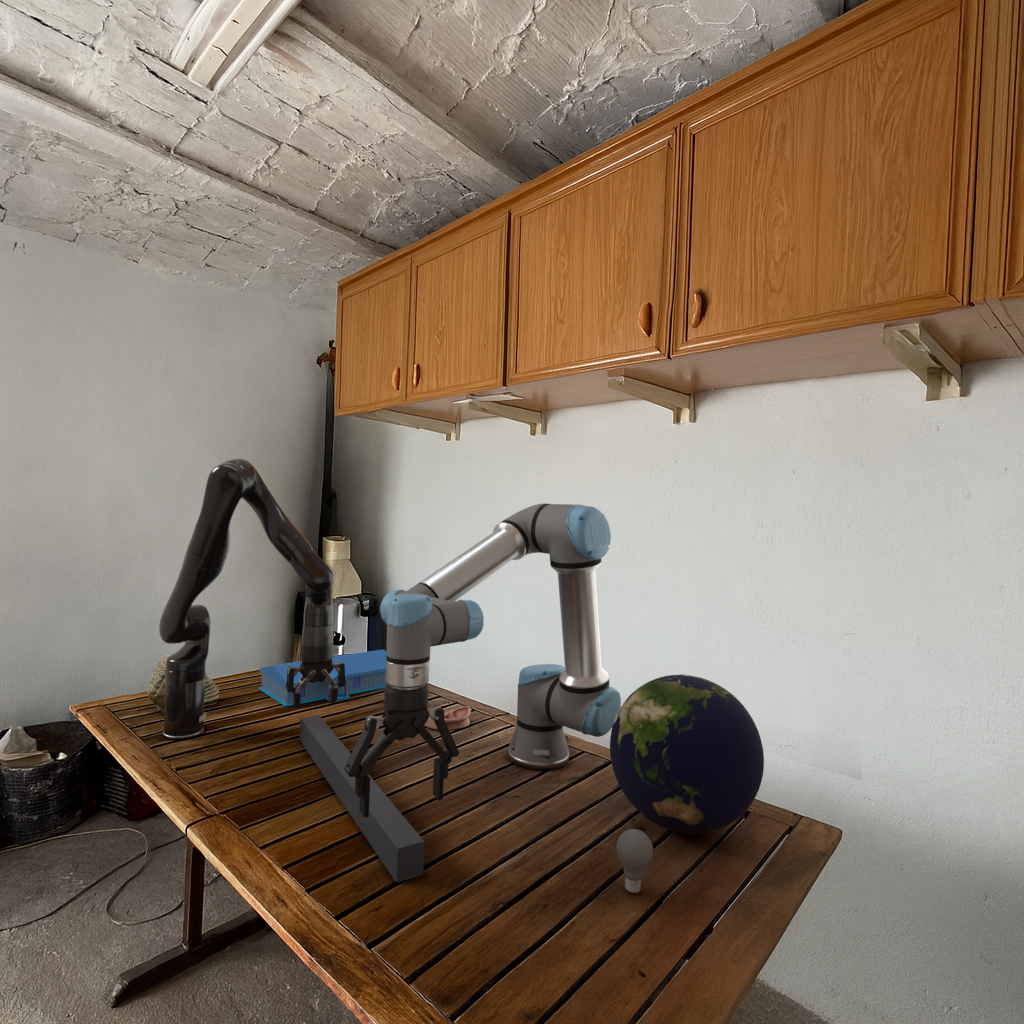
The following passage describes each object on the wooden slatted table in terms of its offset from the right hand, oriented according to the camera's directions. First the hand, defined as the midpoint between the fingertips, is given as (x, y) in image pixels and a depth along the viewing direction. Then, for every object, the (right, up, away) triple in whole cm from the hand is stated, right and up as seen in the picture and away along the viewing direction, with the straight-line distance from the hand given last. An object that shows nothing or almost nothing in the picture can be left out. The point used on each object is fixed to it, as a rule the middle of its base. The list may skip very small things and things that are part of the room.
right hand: (402, 805), depth 110 cm
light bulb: (+39, -12, -5) cm, 41 cm away
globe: (+53, -12, +18) cm, 58 cm away
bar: (-16, -9, +25) cm, 31 cm away
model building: (-40, -7, +97) cm, 105 cm away
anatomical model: (0, -9, +70) cm, 70 cm away
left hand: (-31, +2, +50) cm, 59 cm away
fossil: (-77, -6, +75) cm, 107 cm away
